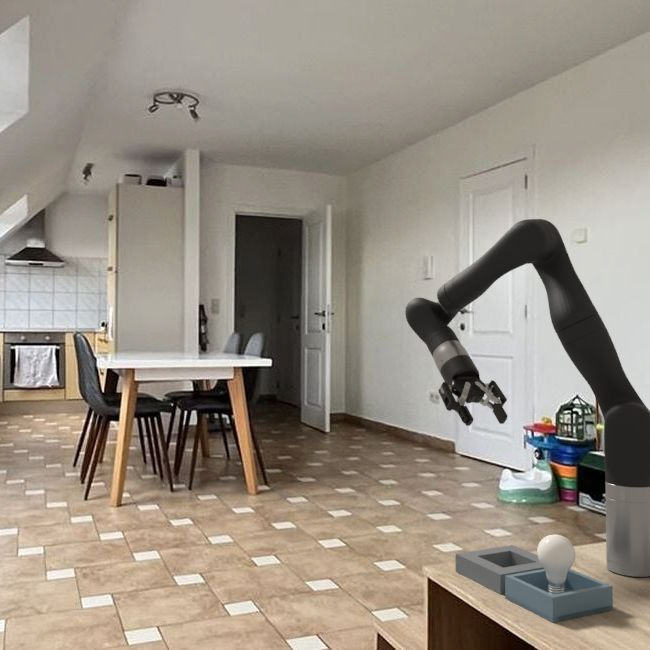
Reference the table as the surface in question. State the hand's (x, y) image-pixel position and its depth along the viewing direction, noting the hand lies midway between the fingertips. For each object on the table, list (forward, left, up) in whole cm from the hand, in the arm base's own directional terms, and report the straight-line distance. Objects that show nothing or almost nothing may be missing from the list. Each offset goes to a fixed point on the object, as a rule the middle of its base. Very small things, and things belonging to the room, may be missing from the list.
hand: (487, 422), depth 149 cm
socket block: (+3, +10, -29) cm, 30 cm away
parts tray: (+4, +25, -29) cm, 38 cm away
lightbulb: (+4, +24, -28) cm, 37 cm away
